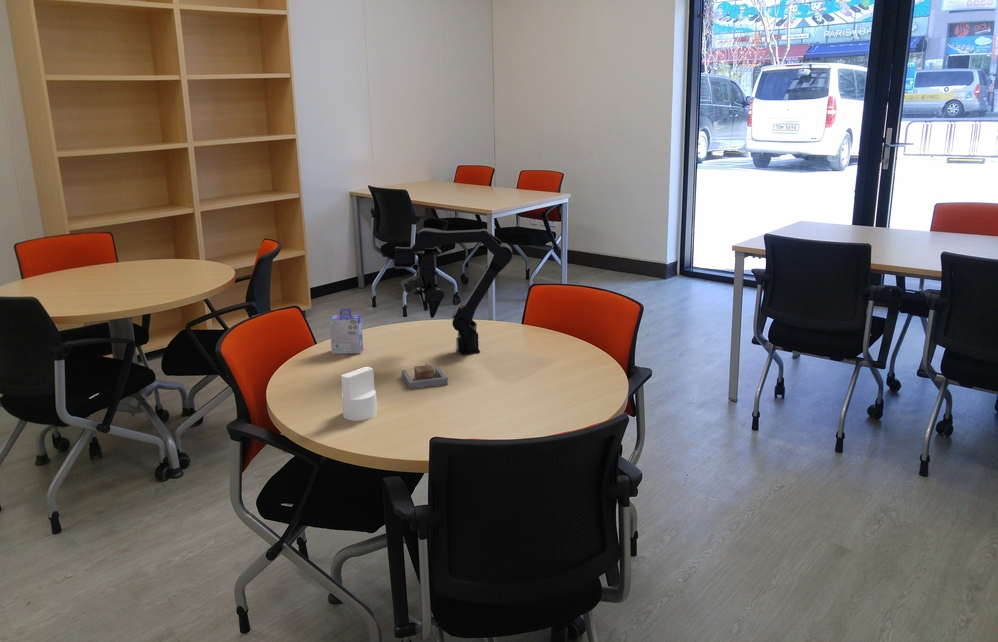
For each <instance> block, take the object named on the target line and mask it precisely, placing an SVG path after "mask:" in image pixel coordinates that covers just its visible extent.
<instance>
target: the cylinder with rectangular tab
mask: <svg viewBox="0 0 998 642" xmlns="http://www.w3.org/2000/svg"><path fill="white" fill-rule="evenodd" d="M340 379H341V380H340V381H341V391H342V392H341V402H342V403H341V404H342V414H343V415H342V416H343V418H344V419H346V420H347V421H357V422H359V421H360V422H361V421H366V420H371V419H373V418H374V417H376V416H377V414H378V408H377V407H378V405H377V392H376V390H375V376H374V368H372V367H371V366H364V367H361V368H358V369H355V370H352V371H349V372H347V373H344V374H341V375H340Z"/></svg>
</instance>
